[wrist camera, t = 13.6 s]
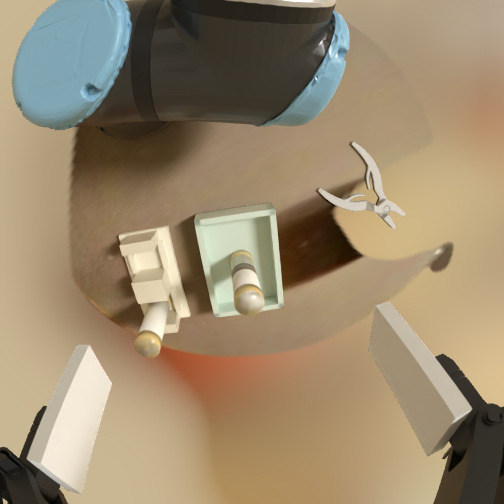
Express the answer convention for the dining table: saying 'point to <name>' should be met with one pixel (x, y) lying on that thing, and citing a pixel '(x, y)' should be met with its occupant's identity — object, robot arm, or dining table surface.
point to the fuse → (152, 328)
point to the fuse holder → (155, 272)
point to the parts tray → (240, 238)
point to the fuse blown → (245, 284)
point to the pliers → (382, 203)
